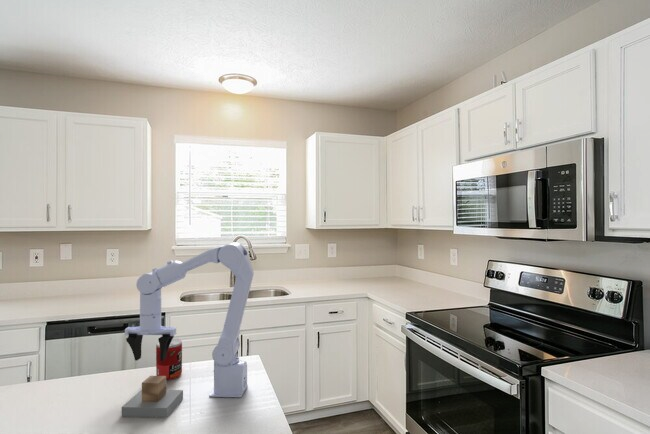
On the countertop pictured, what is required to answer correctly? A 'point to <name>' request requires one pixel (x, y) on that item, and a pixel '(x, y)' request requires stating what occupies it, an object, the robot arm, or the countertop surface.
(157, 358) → the canned food
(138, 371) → the countertop surface
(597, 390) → the countertop surface
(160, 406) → the slate base
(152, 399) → the light brown rectangular block
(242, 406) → the countertop surface
